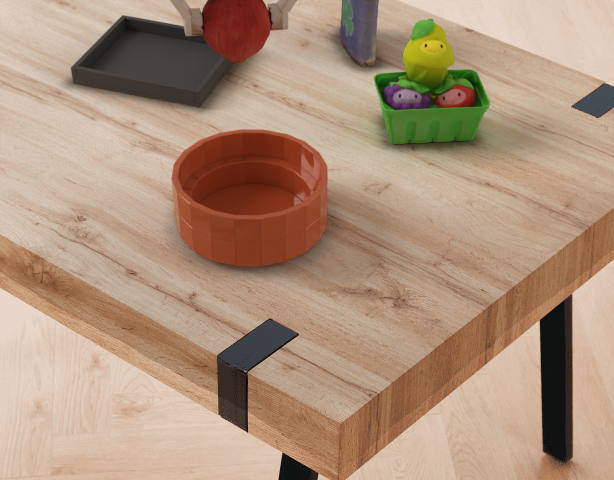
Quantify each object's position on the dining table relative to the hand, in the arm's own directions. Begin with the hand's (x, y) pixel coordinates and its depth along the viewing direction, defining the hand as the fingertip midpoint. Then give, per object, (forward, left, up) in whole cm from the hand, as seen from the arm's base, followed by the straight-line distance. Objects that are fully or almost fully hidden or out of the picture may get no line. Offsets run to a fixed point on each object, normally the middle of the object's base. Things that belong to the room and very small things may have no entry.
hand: (236, 30), depth 91 cm
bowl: (+1, -1, -20) cm, 20 cm away
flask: (+1, +35, -20) cm, 40 cm away
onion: (0, 0, -3) cm, 3 cm away
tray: (-19, +23, -20) cm, 35 cm away
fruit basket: (+13, +21, -20) cm, 32 cm away
